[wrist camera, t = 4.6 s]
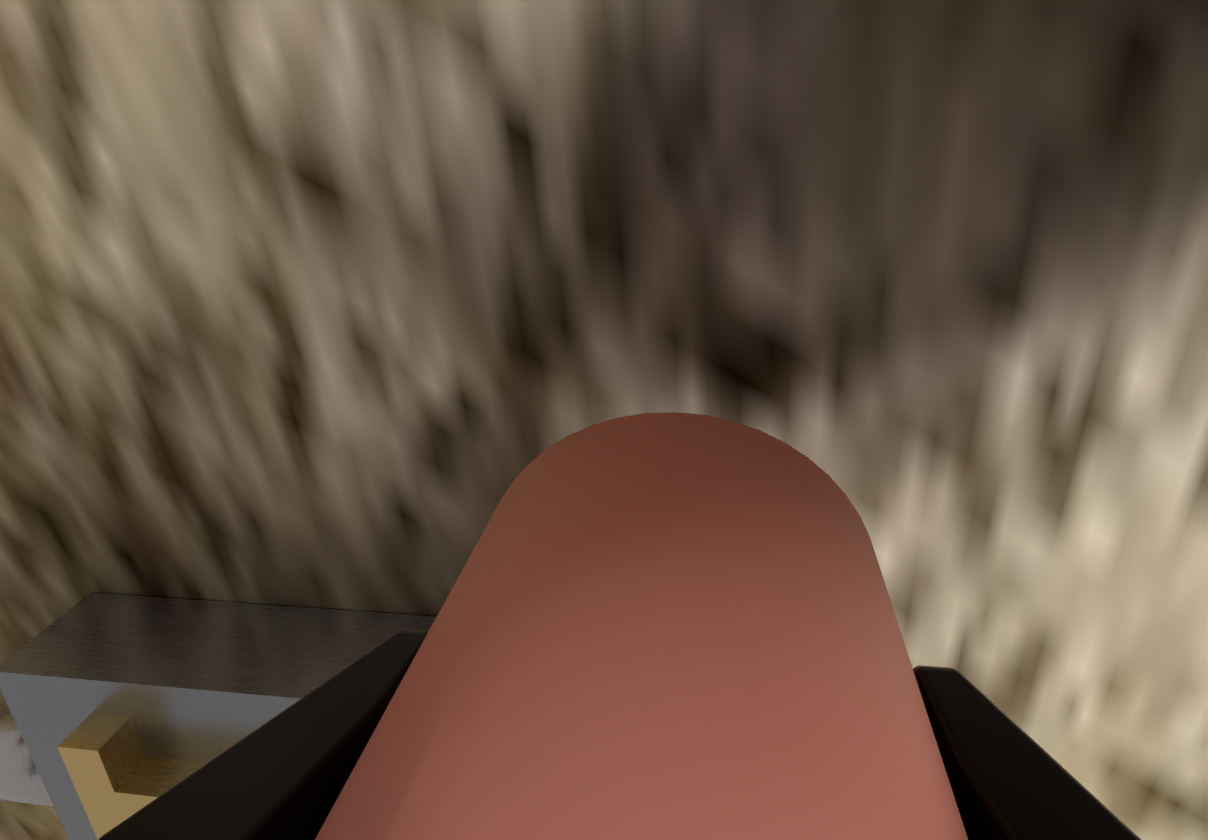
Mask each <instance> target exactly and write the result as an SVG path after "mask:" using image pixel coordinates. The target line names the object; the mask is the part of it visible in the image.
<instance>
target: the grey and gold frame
mask: <svg viewBox="0 0 1208 840" xmlns="http://www.w3.org/2000/svg"><path fill="white" fill-rule="evenodd" d="M436 617H437V616H424V615H409V614H395V613H380V612H366V611H351V610H337V609H322V608H308V607H293V606H279V605H264V604H250V603H235V602H221V601H207V600H192V599H178V598H163V597H149V596H134V595H120V594H105V593H90V594H89V595H87V596H86V597H85V598H84V599H82V600H81V601H80V602H79V603H77V604H76V605H75V606H74V607H72V608H71V609H70V610H69V611H67V612H66V613H65V614H64V615H62V616H61V617H60V618H59V619H57V620H56V621H55V622H53V623H52V624H51V625H50V626H48V627H47V628H46V629H45V630H43V631H42V632H41V633H40V634H38V635H37V636H36V637H35V638H33V639H32V640H31V641H30V642H28V643H27V644H26V645H25V646H23V647H22V648H21V649H19V650H18V651H17V652H16V653H14V654H13V655H12V656H11V657H9V658H8V659H7V660H6V661H4V662H3V663H2V664H1V665H0V690H1V692H2V694H3V696H4V699H5V700H0V800H3V801H12V802H20V803H29V804H37V805H46V806H54V808H55V810H56V813H57V815H58V817H59V819H60V821H61V823H62V826H63V828H64V830H65V832H66V834H67V837H68V839H69V840H98V839H99V838H100V837H101V836H103V835H104V834H106V833H107V832H108V831H110V830H111V829H113V828H114V827H116V826H117V825H119V824H120V823H122V822H123V821H124V820H126V819H127V818H129V817H130V816H132V815H133V814H135V813H136V812H137V811H139V810H140V809H142V808H143V807H145V806H146V805H148V804H149V803H151V802H152V801H153V800H155V799H156V798H158V797H159V796H161V795H162V794H164V793H165V792H166V791H168V790H169V789H171V788H172V787H174V786H175V785H177V784H178V783H180V782H181V781H182V780H184V779H185V778H187V777H188V776H190V775H191V774H193V773H194V772H196V771H197V770H198V769H200V768H201V767H203V766H204V765H206V764H207V763H209V762H210V761H211V760H213V759H214V758H216V757H217V756H219V755H220V754H222V753H223V752H225V751H226V750H227V749H229V748H230V747H232V746H233V745H235V744H236V743H238V742H239V741H240V740H242V739H243V738H245V737H246V736H248V735H249V734H251V733H252V732H254V731H255V730H256V729H258V728H259V727H261V726H262V725H264V724H265V723H267V722H268V721H269V720H271V719H272V718H274V717H275V716H277V715H278V714H280V713H281V712H283V711H284V710H285V709H287V708H288V707H290V706H291V705H293V704H294V703H296V702H297V701H298V700H300V699H301V698H303V697H304V696H306V695H307V694H309V693H310V692H312V691H313V690H314V689H316V688H317V687H319V686H320V685H322V684H323V683H325V682H326V681H327V680H329V679H330V678H332V677H333V676H335V675H336V674H338V673H339V672H341V671H342V670H343V669H345V668H346V667H348V666H349V665H351V664H352V663H354V662H355V661H356V660H358V659H359V658H361V657H362V656H364V655H365V654H367V653H368V652H370V651H371V650H372V649H374V648H375V647H377V646H378V645H380V644H381V643H383V642H384V641H386V640H387V639H388V638H390V637H391V636H393V635H394V634H396V633H397V632H399V631H402V630H419V631H429V630H430V628H431V626H432V624H433V622H434V621H435V619H436Z"/></svg>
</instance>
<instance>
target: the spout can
mask: <svg viewBox="0 0 1208 840" xmlns="http://www.w3.org/2000/svg"><path fill="white" fill-rule="evenodd" d="M315 840H968V838H967V835H966V831H965V828H964V825H963V822H962V819H961V816H960V813H959V810H958V807H957V804H956V801H955V798H954V795H953V791H952V788H951V785H950V782H949V779H948V776H947V773H946V770H945V767H944V764H943V761H942V758H941V755H940V752H939V748H938V745H937V742H936V739H935V736H934V733H933V730H932V727H931V724H930V721H929V718H928V715H927V712H926V708H925V705H924V702H923V699H922V696H921V693H920V690H919V687H918V684H917V681H916V678H915V675H914V672H913V668H912V665H911V662H910V659H909V656H908V653H907V650H906V647H905V644H904V641H903V638H902V635H901V632H900V629H899V625H898V622H897V619H896V616H895V613H894V610H893V607H892V604H891V601H890V598H889V595H888V592H887V589H886V585H885V582H884V579H883V576H882V573H881V570H880V567H879V564H878V561H877V558H876V555H875V552H874V549H873V546H872V542H871V539H870V537H869V535H868V532H867V530H866V528H865V526H864V524H863V522H862V519H861V517H860V515H859V514H858V512H857V511H856V509H855V508H854V506H853V505H852V503H851V502H850V500H849V499H848V497H847V496H846V494H845V493H844V492H843V491H842V490H841V489H840V488H839V486H838V485H837V484H836V483H835V482H834V481H833V480H832V479H831V478H830V476H829V475H828V474H826V473H825V472H824V471H823V470H822V469H821V468H819V467H818V466H817V465H816V464H815V463H814V462H812V461H811V460H810V459H809V458H808V457H806V456H805V455H803V454H801V453H800V452H798V451H797V450H795V449H794V448H792V447H791V446H789V445H788V444H786V443H784V442H782V441H780V440H778V439H776V438H774V437H772V436H770V435H768V434H766V433H764V432H762V431H760V430H757V429H754V428H751V427H748V426H745V425H742V424H739V423H736V422H733V421H730V420H725V419H720V418H715V417H711V416H706V415H698V414H686V413H675V412H673V413H645V414H639V415H633V416H626V417H620V418H616V419H612V420H609V421H605V422H602V423H599V424H595V425H592V426H590V427H587V428H585V429H583V430H580V431H578V432H576V433H574V434H571V435H569V436H567V437H566V438H564V439H562V440H561V441H559V442H557V443H556V444H554V445H552V446H551V447H549V448H548V449H546V450H545V451H544V452H542V453H541V454H540V455H539V456H538V457H536V458H535V459H534V460H533V461H532V462H530V463H529V464H528V465H527V466H526V467H525V468H524V469H523V471H522V472H521V473H520V474H519V475H518V476H517V477H516V478H515V479H514V481H513V482H512V483H511V485H510V486H509V488H508V489H507V491H506V492H505V494H504V495H503V497H502V498H501V500H500V502H499V503H498V505H497V507H496V509H495V511H494V513H493V514H492V516H491V518H490V520H489V522H488V524H487V525H486V527H485V529H484V531H483V533H482V535H481V536H480V538H479V540H478V542H477V544H476V546H475V547H474V549H473V551H472V553H471V555H470V557H469V558H468V560H467V562H466V564H465V566H464V568H463V569H462V571H461V573H460V575H459V577H458V579H457V580H456V582H455V584H454V586H453V588H452V590H451V591H450V593H449V595H448V597H447V599H446V600H445V602H444V604H443V606H442V608H441V610H440V611H439V613H438V615H437V617H436V619H435V621H434V622H433V624H432V626H431V628H430V630H429V632H428V633H427V635H426V637H425V639H424V641H423V643H422V644H421V646H420V648H419V650H418V652H417V654H416V655H415V657H414V659H413V661H412V663H411V665H410V666H409V668H408V670H407V672H406V674H405V676H404V677H403V679H402V681H401V683H400V685H399V687H398V688H397V690H396V692H395V694H394V696H393V698H392V699H391V701H390V703H389V705H388V707H387V709H386V710H385V712H384V714H383V716H382V718H381V720H380V721H379V723H378V725H377V727H376V729H375V730H374V732H373V734H372V736H371V738H370V740H369V741H368V743H367V745H366V747H365V749H364V751H363V752H362V754H361V756H360V758H359V760H358V762H357V763H356V765H355V767H354V769H353V771H352V773H351V774H350V776H349V778H348V780H347V782H346V784H345V785H344V787H343V789H342V791H341V793H340V795H339V796H338V798H337V800H336V802H335V804H334V806H333V807H332V809H331V811H330V813H329V815H328V817H327V818H326V820H325V822H324V824H323V826H322V828H321V829H320V831H319V833H318V835H317V837H316V839H315Z"/></svg>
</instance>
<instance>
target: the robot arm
mask: <svg viewBox="0 0 1208 840" xmlns="http://www.w3.org/2000/svg"><path fill="white" fill-rule="evenodd" d="M428 632H429V631H419V630H402V631H399V632H397V633H396V634H394V635H393V636H391V637H390V638H388V639H387V640H386V641H384V642H383V643H381V644H380V645H378V646H377V647H375V648H374V649H372V650H371V651H370V652H368V653H367V654H365V655H364V656H362V657H361V658H359V659H358V660H356V661H355V662H354V663H352V664H351V665H349V666H348V667H346V668H345V669H343V670H342V671H341V672H339V673H338V674H336V675H335V676H333V677H332V678H330V679H329V680H327V681H326V682H325V683H323V684H322V685H320V686H319V687H317V688H316V689H314V690H313V691H312V692H310V693H309V694H307V695H306V696H304V697H303V698H301V699H300V700H298V701H297V702H296V703H294V704H293V705H291V706H290V707H288V708H287V709H285V710H284V711H283V712H281V713H280V714H278V715H277V716H275V717H274V718H272V719H271V720H269V721H268V722H267V723H265V724H264V725H262V726H261V727H259V728H258V729H256V730H255V731H254V732H252V733H251V734H249V735H248V736H246V737H245V738H243V739H242V740H240V741H239V742H238V743H236V744H235V745H233V746H232V747H230V748H229V749H227V750H226V751H225V752H223V753H222V754H220V755H219V756H217V757H216V758H214V759H213V760H211V761H210V762H209V763H207V764H206V765H204V766H203V767H201V768H200V769H198V770H197V771H196V772H194V773H193V774H191V775H190V776H188V777H187V778H185V779H184V780H182V781H181V782H180V783H178V784H177V785H175V786H174V787H172V788H171V789H169V790H168V791H166V792H165V793H164V794H162V795H161V796H159V797H158V798H156V799H155V800H153V801H152V802H151V803H149V804H148V805H146V806H145V807H143V808H142V809H140V810H139V811H137V812H136V813H135V814H133V815H132V816H130V817H129V818H127V819H126V820H124V821H123V822H122V823H120V824H119V825H117V826H116V827H114V828H113V829H111V830H110V831H108V832H107V833H106V834H104V835H103V836H101V837H100V838H99V839H98V840H315V839H316V837H317V835H318V833H319V831H320V829H321V828H322V826H323V824H324V822H325V820H326V818H327V817H328V815H329V813H330V811H331V809H332V807H333V806H334V804H335V802H336V800H337V798H338V796H339V795H340V793H341V791H342V789H343V787H344V785H345V784H346V782H347V780H348V778H349V776H350V774H351V773H352V771H353V769H354V767H355V765H356V763H357V762H358V760H359V758H360V756H361V754H362V752H363V751H364V749H365V747H366V745H367V743H368V741H369V740H370V738H371V736H372V734H373V732H374V730H375V729H376V727H377V725H378V723H379V721H380V720H381V718H382V716H383V714H384V712H385V710H386V709H387V707H388V705H389V703H390V701H391V699H392V698H393V696H394V694H395V692H396V690H397V688H398V687H399V685H400V683H401V681H402V679H403V677H404V676H405V674H406V672H407V670H408V668H409V666H410V665H411V663H412V661H413V659H414V657H415V655H416V654H417V652H418V650H419V648H420V646H421V644H422V643H423V641H424V639H425V637H426V635H427V633H428ZM913 672H914V675H915V678H916V681H917V684H918V687H919V690H920V693H921V696H922V699H923V702H924V705H925V708H926V712H927V715H928V718H929V721H930V724H931V727H932V730H933V733H934V736H935V739H936V742H937V745H938V748H939V752H940V755H941V758H942V761H943V764H944V767H945V770H946V773H947V776H948V779H949V782H950V785H951V788H952V791H953V795H954V798H955V801H956V804H957V807H958V810H959V813H960V816H961V819H962V822H963V825H964V828H965V831H966V835H967V838H968V840H1141V839H1140V838H1139V837H1138V836H1137V835H1136V834H1134V833H1133V832H1132V831H1131V830H1130V829H1129V828H1128V827H1127V826H1126V825H1125V824H1124V823H1123V822H1121V821H1120V820H1119V819H1118V818H1117V817H1116V816H1115V815H1114V814H1113V813H1112V812H1111V811H1110V810H1108V809H1107V808H1106V807H1105V806H1104V805H1103V804H1102V803H1101V802H1100V801H1099V800H1098V799H1097V798H1096V797H1094V796H1093V795H1092V794H1091V793H1090V792H1089V791H1088V790H1087V789H1086V788H1085V787H1084V786H1083V785H1081V784H1080V783H1079V782H1078V781H1077V780H1076V779H1075V778H1074V777H1073V776H1072V775H1071V774H1070V773H1068V772H1067V771H1066V770H1065V769H1064V768H1063V767H1062V766H1061V765H1060V764H1059V763H1058V762H1057V761H1055V760H1054V759H1053V758H1052V757H1051V756H1050V755H1049V754H1048V753H1047V752H1046V751H1045V750H1044V749H1042V748H1041V747H1040V746H1039V745H1038V744H1037V743H1036V742H1035V741H1034V740H1033V739H1032V738H1031V737H1029V736H1028V735H1027V734H1026V733H1025V732H1024V731H1023V730H1022V729H1021V728H1020V727H1019V726H1018V725H1016V724H1015V723H1014V722H1013V721H1012V720H1011V719H1010V718H1009V717H1008V716H1007V715H1006V714H1005V713H1003V712H1002V711H1001V710H1000V709H999V708H998V707H997V706H996V705H995V704H994V703H993V702H992V701H990V700H989V699H988V698H987V697H986V696H985V695H984V694H983V693H982V692H981V691H980V690H979V689H978V688H976V687H975V686H974V685H973V684H972V683H971V682H970V681H969V680H968V679H967V678H966V677H965V676H963V675H962V674H961V673H960V672H959V671H957V670H955V669H953V668H947V667H933V666H917V667H915V668H913Z"/></svg>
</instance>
